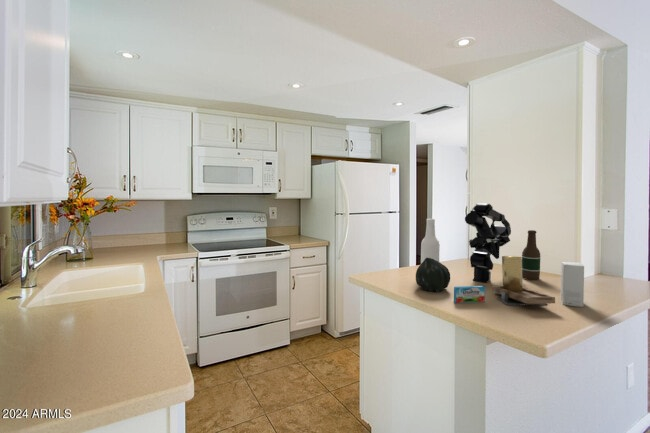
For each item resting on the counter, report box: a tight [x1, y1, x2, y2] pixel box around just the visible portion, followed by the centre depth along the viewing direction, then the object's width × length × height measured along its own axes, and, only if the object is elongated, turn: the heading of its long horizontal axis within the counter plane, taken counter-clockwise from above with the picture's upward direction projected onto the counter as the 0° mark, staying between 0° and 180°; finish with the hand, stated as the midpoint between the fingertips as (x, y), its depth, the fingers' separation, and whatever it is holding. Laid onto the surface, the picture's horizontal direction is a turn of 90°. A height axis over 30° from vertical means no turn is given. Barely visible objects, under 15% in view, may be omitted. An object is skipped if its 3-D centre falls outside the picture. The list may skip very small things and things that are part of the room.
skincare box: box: [560, 261, 585, 308], centre depth 125 cm, size 8×7×16 cm
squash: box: [415, 258, 451, 293], centre depth 144 cm, size 14×15×15 cm
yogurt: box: [453, 285, 486, 304], centre depth 127 cm, size 12×2×6 cm, turn 95°
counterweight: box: [501, 255, 524, 293], centre depth 133 cm, size 7×7×14 cm
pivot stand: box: [495, 292, 548, 306], centre depth 127 cm, size 8×15×4 cm, turn 91°
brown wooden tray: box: [491, 285, 556, 304], centre depth 127 cm, size 23×10×2 cm, turn 1°
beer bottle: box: [521, 229, 541, 281], centre depth 161 cm, size 8×8×24 cm
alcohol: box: [420, 218, 441, 265], centre depth 162 cm, size 9×9×30 cm
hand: (497, 258), depth 145 cm, fingers closed
